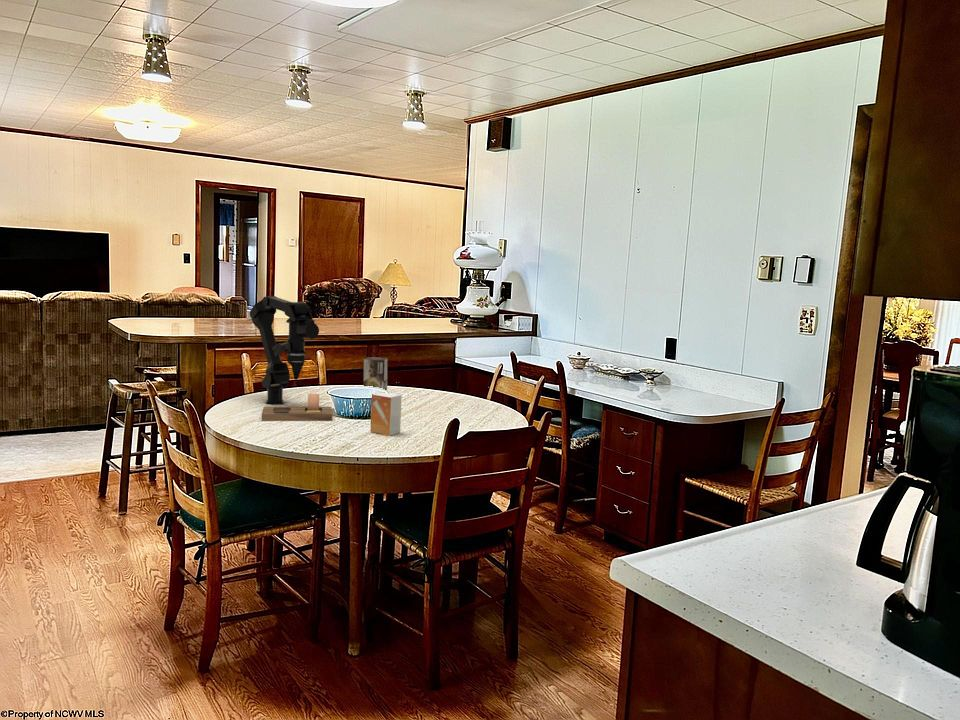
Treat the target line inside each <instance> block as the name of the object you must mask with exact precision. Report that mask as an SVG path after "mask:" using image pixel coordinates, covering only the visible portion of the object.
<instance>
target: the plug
mask: <svg viewBox="0 0 960 720" xmlns="http://www.w3.org/2000/svg"><path fill="white" fill-rule="evenodd" d="M307 407H308V411H319V407H320V394H319V393H308V394H307Z"/></svg>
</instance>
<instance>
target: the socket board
mask: <svg viewBox="0 0 960 720" xmlns="http://www.w3.org/2000/svg"><path fill="white" fill-rule="evenodd" d="M261 421H264V422H265V421H267V422H268V421H270V422H271V421H272V422H273V421H279V422H281V421H282V422H283V421H289V422H290V421H295V422H296V421H297V422H298V421H302V422H303V421H307V422H309V421H315V422H316V421H317V422H318V421H321V422H323V421H325V422H327V421H330V422H331V421H333V408H332V406H319V411H308V406H263V408H262V411H261Z"/></svg>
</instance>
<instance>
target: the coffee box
mask: <svg viewBox="0 0 960 720" xmlns="http://www.w3.org/2000/svg"><path fill="white" fill-rule="evenodd" d="M388 360H389V358H388V357H373V356H371V357H367V356H366V357H365V358H364V359H363V386H373V387H379V388H383V389H385V390H387V391H388V371H389V370H388V365H389V361H388Z"/></svg>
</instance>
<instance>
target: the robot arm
mask: <svg viewBox="0 0 960 720" xmlns="http://www.w3.org/2000/svg"><path fill="white" fill-rule="evenodd" d="M277 311H281V312H283V313H284V315H285V316H287V317H288V319H286V321H285V322H286V323H287V324H288V339H287V341H286V342H283V343H280V342H279V343H277V341H276V336H275V334H274V333H275V332H274V330H273V323H274V319H275V314H276V313H277ZM249 317H250V319H251V321H252V324H253V325H254V326H255V327H256V329H258V330H259V334H260V338H261V342H262V346H263V350H264V354H265V358H266V361H267V365H266V369H265V376H264V377H263V379H262V380H261V385H262V388H265V389H267V391H266V392H267V394H266V395H267V396H266V397H267V399H266V400H265V404H268V405H269V404H270V405H271V404H272V405H274V404H275V405H278V404H282V405H283V404H284V401H285V399H283V397H284V396H283V395H284V394H283V393H284V391H283V388H287V387H288V386H289V382H290V378H291V375H290V374H291V373H290V370H289V366H288V364H289V365H290V366H291V370H292V374H293V375H292V376H293V380H295V381H296V380H298V379H299V377H300V374H301V371H302V369H303V367H304V364H305V362H306V350H305V339H306V338H307V339H311V340H313V339H316V338H317V337H318V336H319V334H320V329H319V325H317V324H316V323H315V322H316V321H315V320H314V319H313V315H312V313H311V311H310V308H309V306H308V304H307V302H304V301H289V300H287V299H283V298H281V297H277V296H275V295H268V296H267V295H265V296H264V297H263V298H262V299H261V300H260V301H258V302H256V303H255V304H253V306H252V308H251V309H250V310H249ZM286 352H287V355H286V360H287V362H283V361H282V359H281V357H280V354H281V355H282V354H284V353H286Z"/></svg>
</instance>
